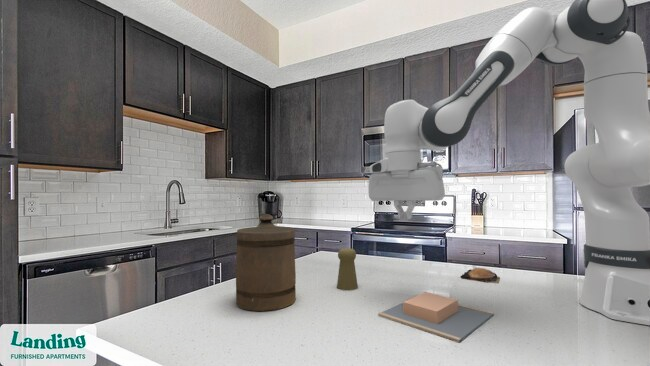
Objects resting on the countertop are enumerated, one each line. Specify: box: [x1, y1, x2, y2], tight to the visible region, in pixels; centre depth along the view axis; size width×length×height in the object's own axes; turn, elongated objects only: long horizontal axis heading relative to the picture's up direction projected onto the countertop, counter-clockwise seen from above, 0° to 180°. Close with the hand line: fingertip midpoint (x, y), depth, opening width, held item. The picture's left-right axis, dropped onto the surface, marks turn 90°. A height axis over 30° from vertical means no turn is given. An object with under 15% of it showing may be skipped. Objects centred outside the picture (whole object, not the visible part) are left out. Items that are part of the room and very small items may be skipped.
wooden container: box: [235, 213, 297, 312], centre depth 81 cm, size 15×15×22 cm
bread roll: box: [460, 267, 501, 284], centre depth 100 cm, size 11×9×4 cm
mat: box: [377, 302, 495, 343], centre depth 71 cm, size 18×18×1 cm
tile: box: [402, 291, 459, 324], centre depth 72 cm, size 2×10×8 cm
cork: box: [336, 247, 359, 291], centre depth 92 cm, size 6×6×11 cm
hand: (405, 218), depth 82 cm, fingers closed
